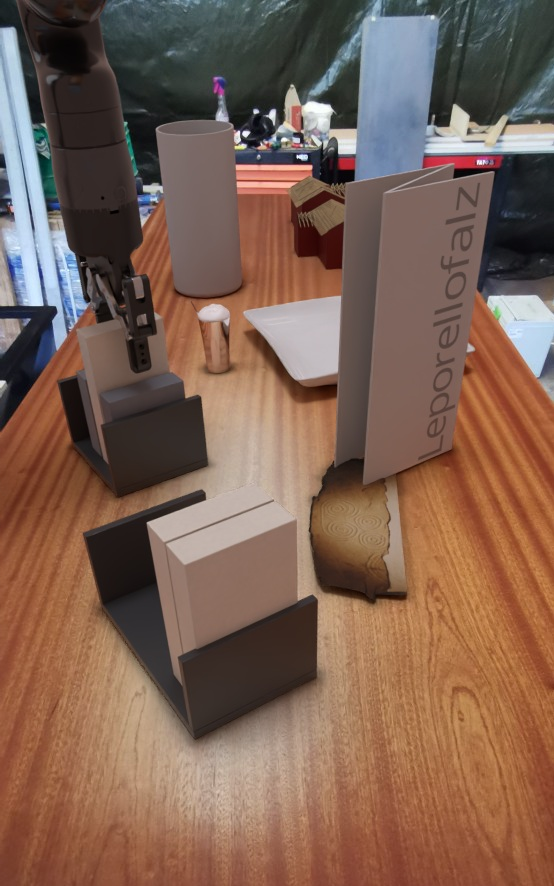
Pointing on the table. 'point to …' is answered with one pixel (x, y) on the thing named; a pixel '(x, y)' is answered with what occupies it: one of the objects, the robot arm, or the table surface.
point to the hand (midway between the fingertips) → (126, 357)
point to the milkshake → (215, 336)
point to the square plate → (305, 337)
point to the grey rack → (137, 430)
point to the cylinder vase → (201, 206)
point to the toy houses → (318, 220)
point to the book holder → (209, 601)
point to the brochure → (406, 313)
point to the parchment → (358, 532)
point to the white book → (116, 362)
